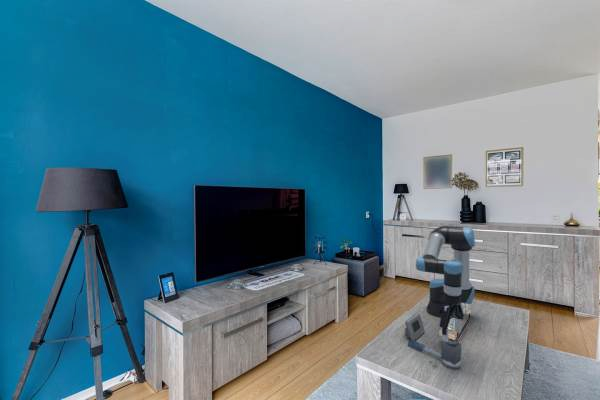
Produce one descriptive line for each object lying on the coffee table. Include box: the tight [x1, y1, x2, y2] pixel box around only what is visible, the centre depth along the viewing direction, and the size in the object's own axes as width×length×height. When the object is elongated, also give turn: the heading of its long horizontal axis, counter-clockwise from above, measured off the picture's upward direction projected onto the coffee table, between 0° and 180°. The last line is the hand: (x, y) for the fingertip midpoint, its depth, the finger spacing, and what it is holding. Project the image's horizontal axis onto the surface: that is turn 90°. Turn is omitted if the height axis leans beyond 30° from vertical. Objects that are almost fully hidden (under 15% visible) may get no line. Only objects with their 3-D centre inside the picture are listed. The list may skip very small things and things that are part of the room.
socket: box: [440, 338, 462, 365], centre depth 136 cm, size 6×6×9 cm
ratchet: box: [407, 339, 462, 370], centre depth 143 cm, size 8×26×6 cm, turn 37°
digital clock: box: [404, 312, 426, 341], centre depth 164 cm, size 16×9×11 cm, turn 121°
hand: (451, 336), depth 136 cm, fingers open, 13 cm apart
